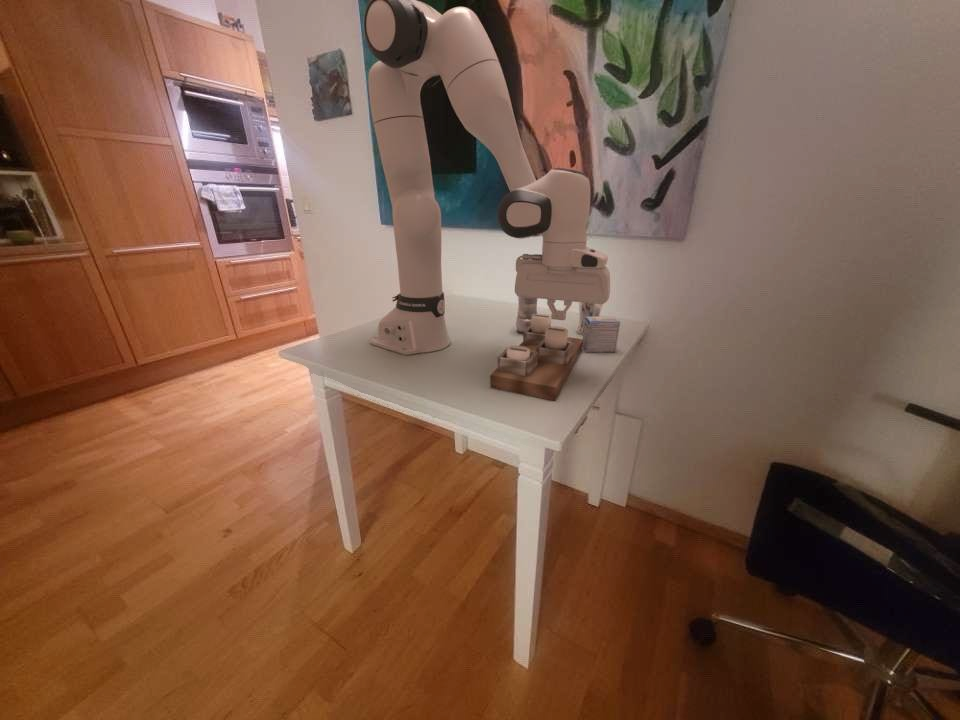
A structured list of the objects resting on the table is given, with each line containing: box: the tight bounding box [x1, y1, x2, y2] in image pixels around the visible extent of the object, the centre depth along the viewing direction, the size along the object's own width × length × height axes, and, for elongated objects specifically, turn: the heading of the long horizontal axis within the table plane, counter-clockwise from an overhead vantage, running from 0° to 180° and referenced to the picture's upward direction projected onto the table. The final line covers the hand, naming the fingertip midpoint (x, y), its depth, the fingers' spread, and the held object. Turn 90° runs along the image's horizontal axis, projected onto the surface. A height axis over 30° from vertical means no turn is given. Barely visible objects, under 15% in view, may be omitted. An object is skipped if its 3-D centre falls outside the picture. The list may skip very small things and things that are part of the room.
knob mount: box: [489, 325, 583, 402], centre depth 87 cm, size 14×30×6 cm, turn 156°
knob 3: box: [544, 325, 569, 350], centre depth 83 cm, size 5×5×4 cm
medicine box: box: [582, 315, 621, 353], centre depth 96 cm, size 8×4×9 cm, turn 92°
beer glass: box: [576, 302, 604, 336], centre depth 108 cm, size 7×7×15 cm
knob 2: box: [531, 313, 552, 334], centre depth 93 cm, size 5×5×4 cm
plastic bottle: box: [515, 296, 539, 334], centre depth 107 cm, size 6×7×20 cm
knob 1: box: [506, 345, 530, 361], centre depth 79 cm, size 5×5×4 cm
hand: (558, 319), depth 82 cm, fingers closed
